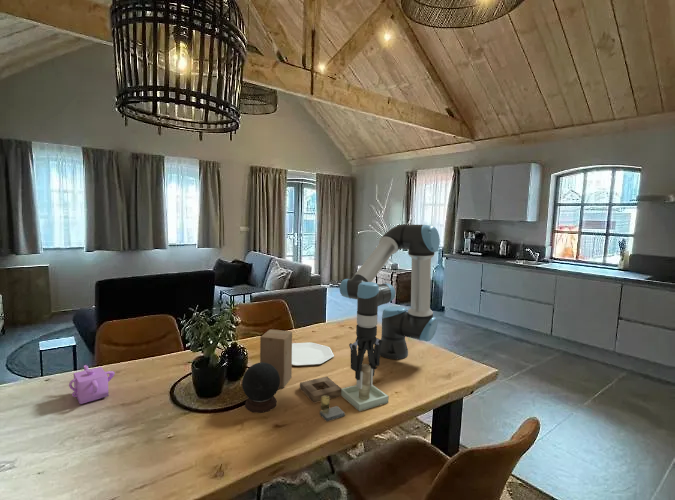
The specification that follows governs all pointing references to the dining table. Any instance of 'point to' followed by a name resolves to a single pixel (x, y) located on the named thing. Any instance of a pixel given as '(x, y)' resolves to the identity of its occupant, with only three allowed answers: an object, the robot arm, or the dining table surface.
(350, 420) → the dining table surface
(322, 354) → the plate
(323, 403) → the cylinder
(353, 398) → the tray
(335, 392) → the socket block
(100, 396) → the teapot
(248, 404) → the black ball on stand
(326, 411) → the steel plate
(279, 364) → the wooden block
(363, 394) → the dowel
